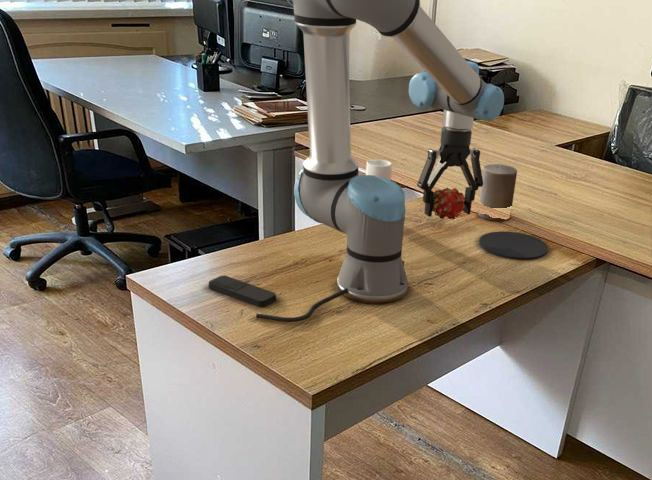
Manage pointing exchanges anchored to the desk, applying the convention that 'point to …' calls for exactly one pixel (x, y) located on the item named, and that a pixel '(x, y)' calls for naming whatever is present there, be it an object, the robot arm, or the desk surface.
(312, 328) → the desk surface
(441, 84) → the robot arm
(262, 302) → the remote control
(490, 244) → the mat
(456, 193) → the dragon fruit
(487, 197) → the pillar candle
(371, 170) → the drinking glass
